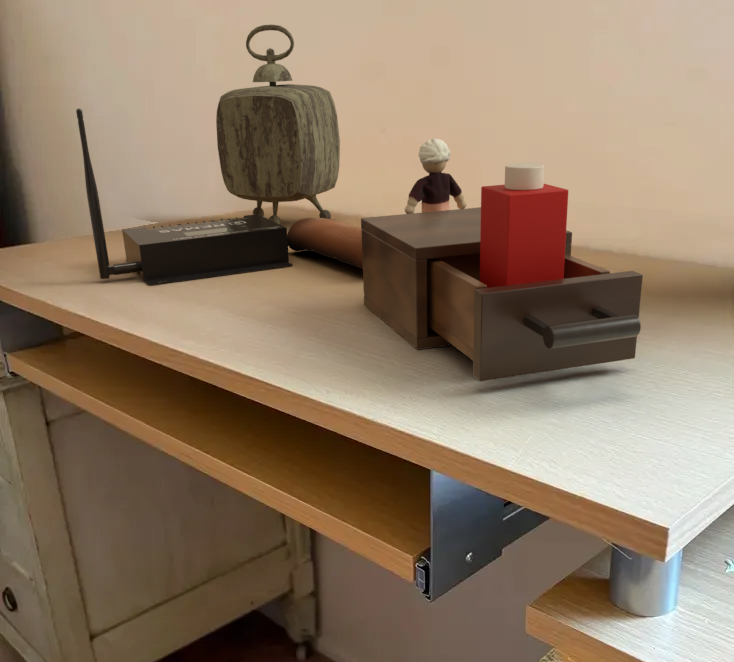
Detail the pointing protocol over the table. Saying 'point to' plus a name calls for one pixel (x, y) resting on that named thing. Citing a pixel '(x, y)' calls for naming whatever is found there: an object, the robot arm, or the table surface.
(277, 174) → the tabletop clock
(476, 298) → the drawer
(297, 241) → the sunglasses case
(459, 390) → the table surface
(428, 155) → the grandmother figurine
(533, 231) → the ketchup bottle
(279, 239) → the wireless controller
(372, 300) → the cabinet
